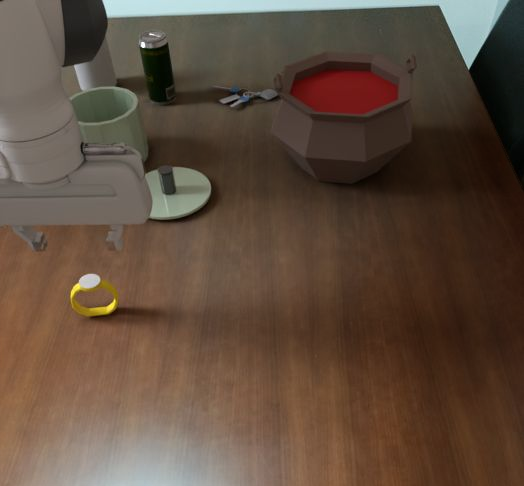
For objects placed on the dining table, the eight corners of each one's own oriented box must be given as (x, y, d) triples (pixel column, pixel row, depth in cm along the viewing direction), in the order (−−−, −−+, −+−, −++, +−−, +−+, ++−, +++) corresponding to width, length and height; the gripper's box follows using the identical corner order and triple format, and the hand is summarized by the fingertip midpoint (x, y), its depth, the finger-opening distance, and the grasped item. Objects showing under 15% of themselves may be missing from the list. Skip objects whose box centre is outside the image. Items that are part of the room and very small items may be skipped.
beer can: (181, 95, 116) (172, 32, 107) (167, 108, 114) (156, 44, 104) (159, 90, 118) (148, 27, 109) (144, 103, 115) (131, 39, 106)
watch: (77, 323, 78) (64, 292, 73) (77, 309, 80) (64, 277, 75) (122, 316, 79) (111, 284, 74) (121, 301, 80) (111, 269, 76)
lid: (121, 223, 91) (113, 195, 87) (136, 172, 100) (130, 146, 96) (207, 222, 91) (203, 195, 87) (215, 172, 99) (212, 145, 95)
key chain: (281, 91, 116) (281, 87, 115) (274, 112, 111) (274, 108, 110) (213, 87, 118) (212, 83, 117) (203, 108, 113) (202, 104, 112)
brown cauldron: (287, 213, 91) (287, 114, 79) (257, 134, 106) (252, 40, 94) (432, 189, 94) (454, 90, 81) (382, 115, 109) (394, 22, 96)
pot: (69, 177, 100) (52, 125, 93) (86, 137, 108) (71, 87, 101) (142, 176, 99) (130, 124, 92) (153, 136, 107) (143, 85, 100)
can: (74, 88, 120) (56, 27, 111) (105, 76, 123) (89, 14, 114) (93, 101, 116) (76, 38, 107) (124, 87, 119) (110, 25, 110)
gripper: (144, 126, 61) (166, 230, 72) (-44, 130, 62) (6, 232, 73) (133, 160, 57) (159, 265, 68) (-67, 163, 58) (-11, 266, 69)
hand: (78, 248), depth 71 cm, fingers open, 8 cm apart
